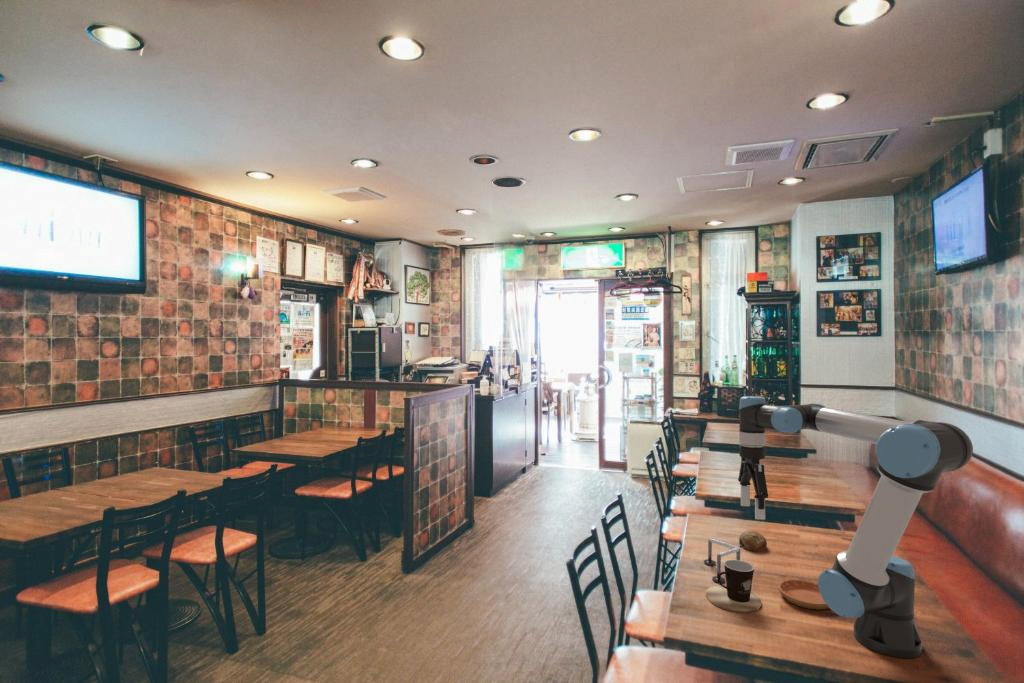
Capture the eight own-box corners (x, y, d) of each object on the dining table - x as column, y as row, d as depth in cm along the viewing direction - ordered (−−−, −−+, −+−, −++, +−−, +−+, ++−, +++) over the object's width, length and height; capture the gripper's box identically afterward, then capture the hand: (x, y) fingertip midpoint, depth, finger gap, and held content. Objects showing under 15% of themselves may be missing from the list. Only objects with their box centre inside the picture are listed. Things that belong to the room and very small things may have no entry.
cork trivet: (768, 614, 159) (768, 612, 159) (712, 610, 161) (712, 607, 161) (752, 589, 175) (752, 587, 175) (701, 585, 177) (701, 583, 177)
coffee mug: (748, 591, 171) (748, 560, 171) (757, 605, 163) (758, 572, 163) (710, 589, 173) (711, 558, 172) (718, 602, 164) (718, 570, 164)
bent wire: (751, 585, 177) (752, 558, 177) (713, 582, 179) (714, 555, 179) (737, 562, 195) (737, 538, 195) (703, 560, 197) (703, 536, 197)
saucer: (820, 618, 157) (820, 608, 157) (768, 596, 171) (768, 587, 171) (846, 604, 166) (846, 594, 166) (795, 584, 179) (795, 575, 179)
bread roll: (737, 552, 215) (730, 534, 214) (756, 538, 218) (749, 521, 216) (755, 561, 205) (748, 544, 204) (775, 547, 208) (768, 530, 207)
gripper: (780, 453, 158) (780, 525, 158) (751, 438, 183) (751, 501, 182) (753, 452, 159) (753, 524, 158) (728, 438, 183) (728, 500, 183)
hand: (752, 512), depth 170 cm, fingers open, 13 cm apart
